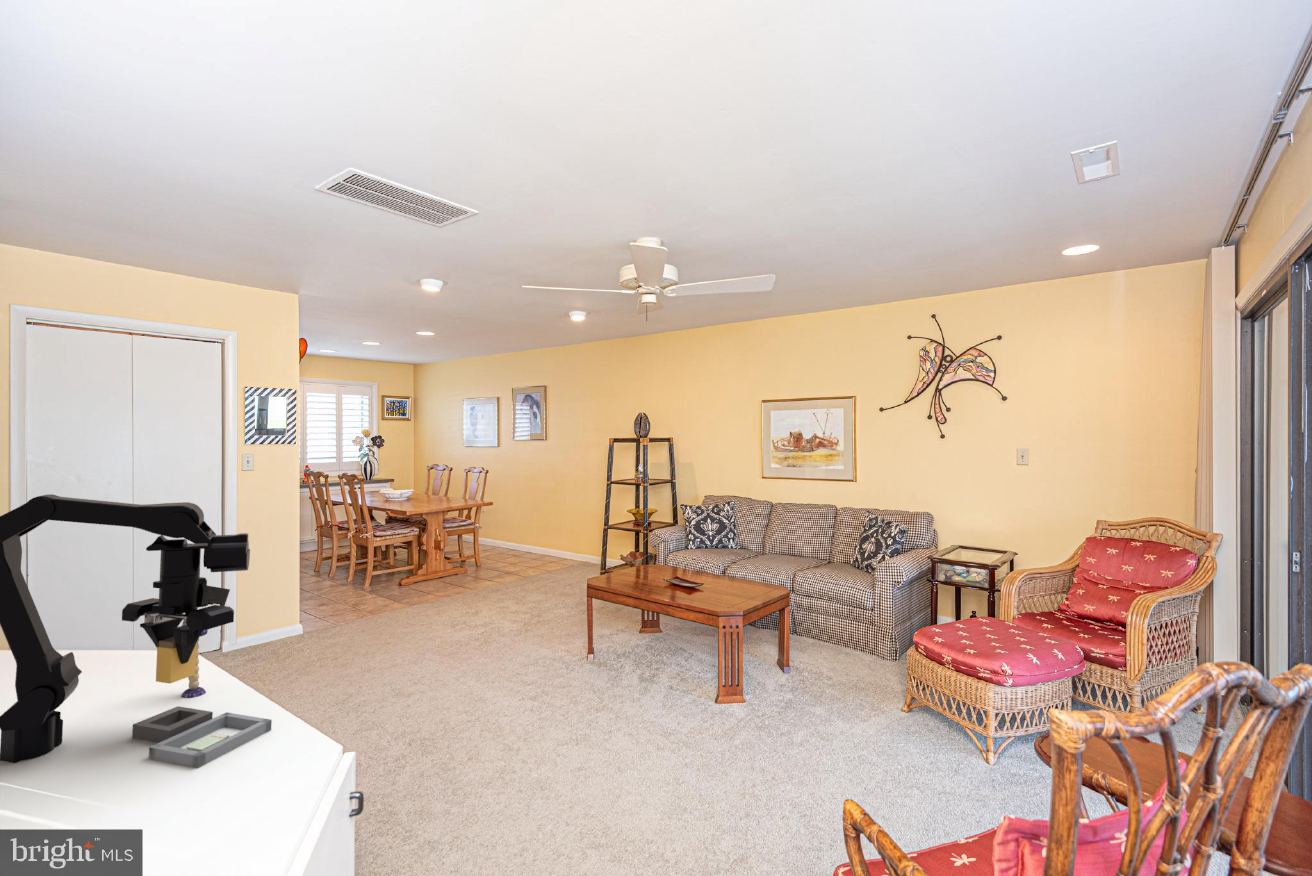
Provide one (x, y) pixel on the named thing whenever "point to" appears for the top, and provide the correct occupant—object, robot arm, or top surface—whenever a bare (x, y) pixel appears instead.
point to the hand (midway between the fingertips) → (176, 662)
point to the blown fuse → (173, 663)
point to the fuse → (207, 742)
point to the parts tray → (175, 754)
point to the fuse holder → (169, 723)
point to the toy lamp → (195, 678)
